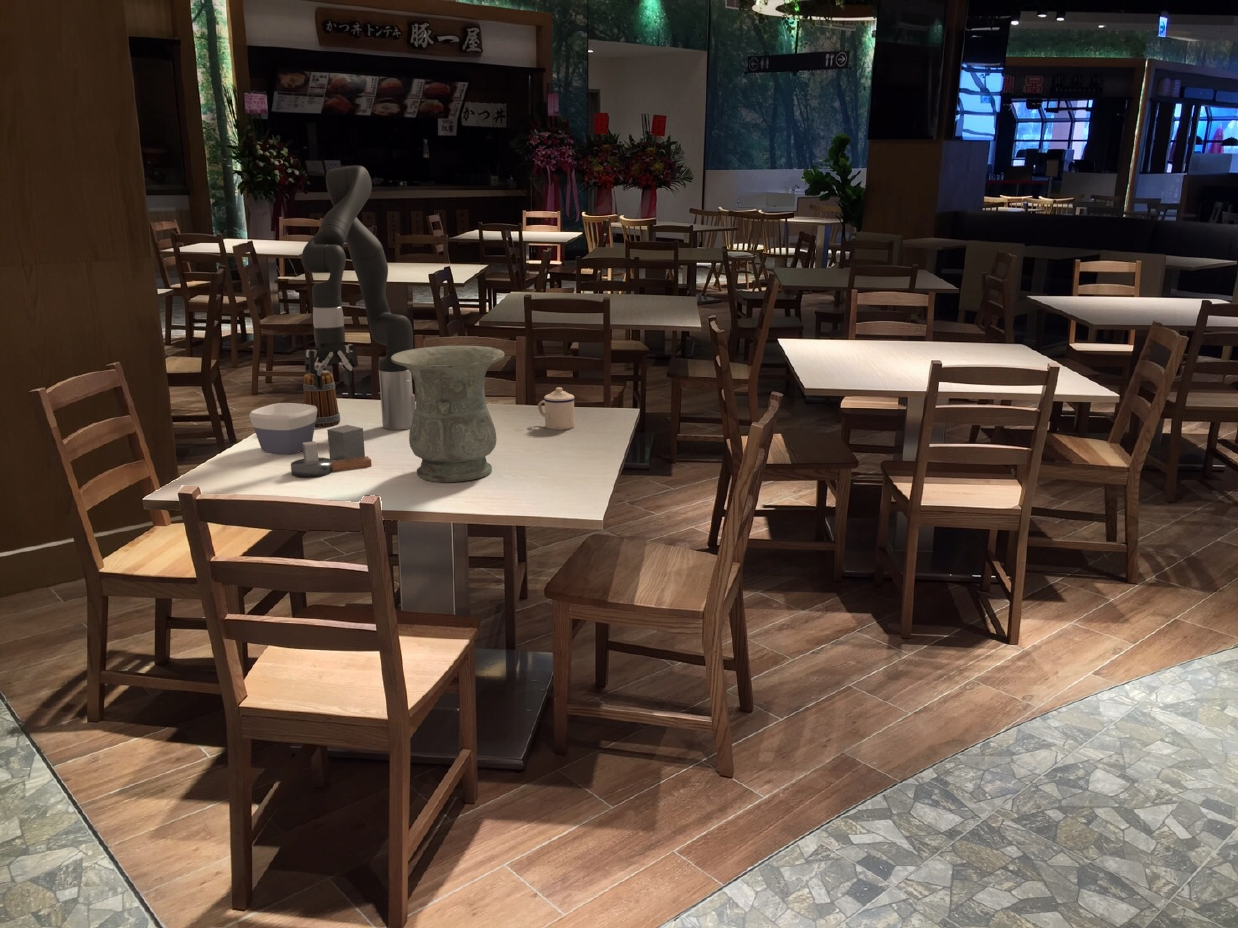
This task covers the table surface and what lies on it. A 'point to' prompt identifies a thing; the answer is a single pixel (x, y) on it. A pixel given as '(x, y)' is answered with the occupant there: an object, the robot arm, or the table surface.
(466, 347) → the vessel
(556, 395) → the teacup with lid
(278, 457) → the table surface
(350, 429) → the grey rectangular block
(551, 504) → the table surface
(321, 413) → the mug
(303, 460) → the dark handled piece
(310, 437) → the bowl
